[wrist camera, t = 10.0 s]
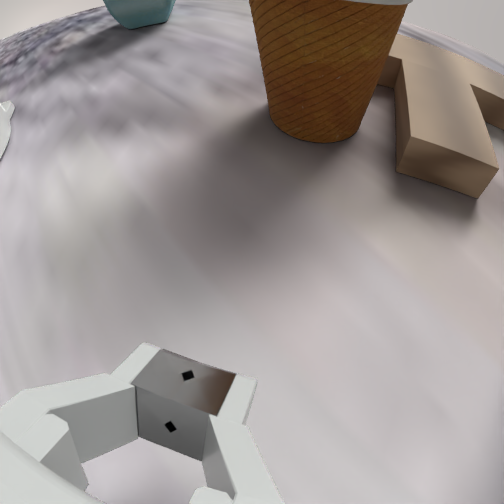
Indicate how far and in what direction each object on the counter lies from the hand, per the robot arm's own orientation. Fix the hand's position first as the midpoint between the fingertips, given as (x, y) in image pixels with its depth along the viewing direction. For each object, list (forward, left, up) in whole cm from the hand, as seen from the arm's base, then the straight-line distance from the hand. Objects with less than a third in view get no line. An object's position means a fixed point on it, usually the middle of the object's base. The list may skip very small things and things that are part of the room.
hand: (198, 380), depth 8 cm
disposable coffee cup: (0, +18, -6) cm, 19 cm away
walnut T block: (+9, +22, -6) cm, 25 cm away
